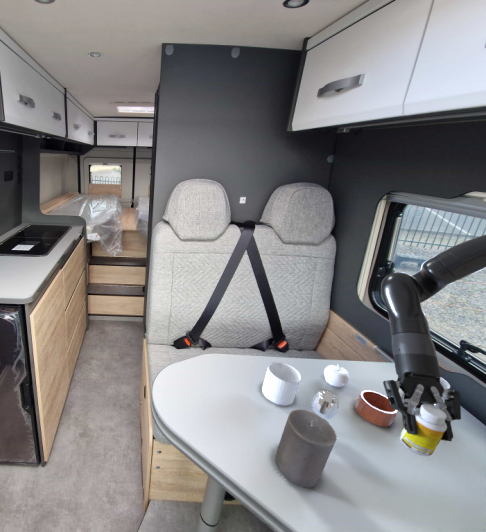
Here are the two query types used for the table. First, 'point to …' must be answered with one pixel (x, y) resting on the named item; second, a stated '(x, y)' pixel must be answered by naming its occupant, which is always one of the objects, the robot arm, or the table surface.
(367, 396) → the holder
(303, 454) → the pillar candle
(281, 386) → the mug
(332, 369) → the plain white apple
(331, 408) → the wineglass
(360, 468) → the table surface
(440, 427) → the supplement bottle
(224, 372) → the table surface
